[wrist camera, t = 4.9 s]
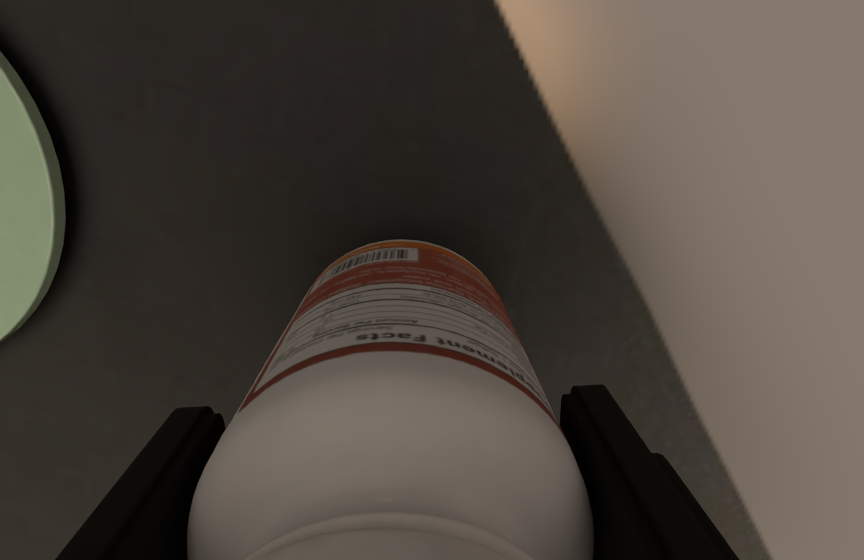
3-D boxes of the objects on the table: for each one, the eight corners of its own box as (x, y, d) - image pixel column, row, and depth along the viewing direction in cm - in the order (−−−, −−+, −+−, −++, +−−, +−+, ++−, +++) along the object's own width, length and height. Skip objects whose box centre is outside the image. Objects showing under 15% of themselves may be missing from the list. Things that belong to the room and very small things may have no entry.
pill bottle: (431, 453, 17) (458, 1041, 6) (262, 361, 15) (-65, 900, 5) (547, 305, 15) (851, 752, 5) (371, 190, 14) (233, 440, 3)
